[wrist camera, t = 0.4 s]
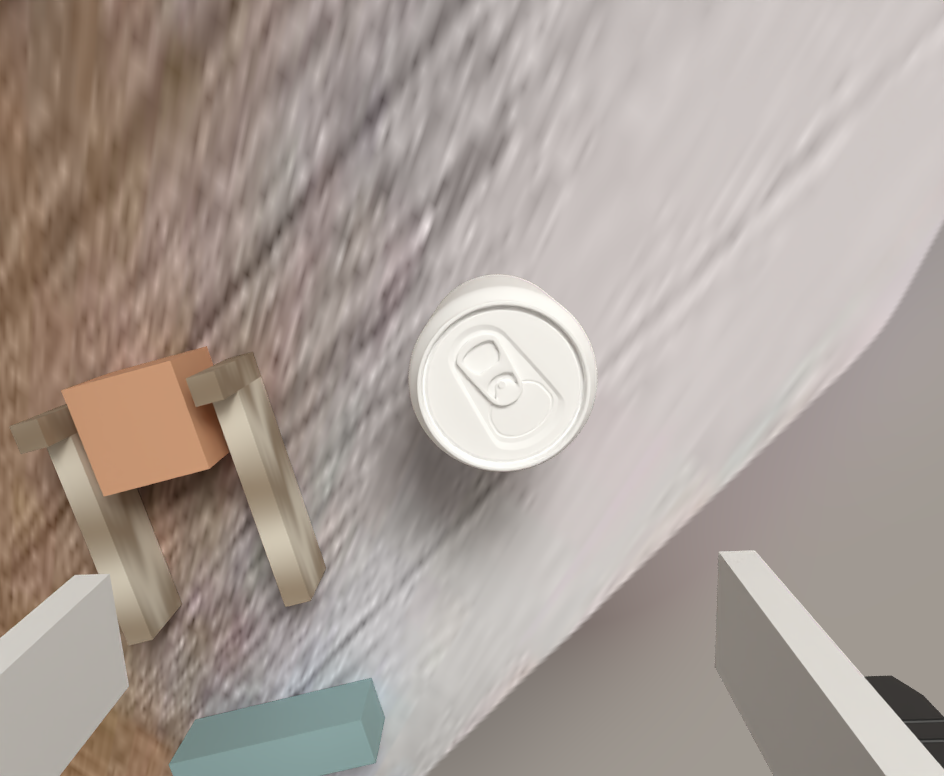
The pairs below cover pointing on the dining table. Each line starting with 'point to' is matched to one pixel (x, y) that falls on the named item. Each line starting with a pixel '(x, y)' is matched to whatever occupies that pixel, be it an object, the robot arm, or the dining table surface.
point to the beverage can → (502, 375)
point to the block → (146, 423)
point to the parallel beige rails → (127, 524)
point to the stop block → (287, 736)
